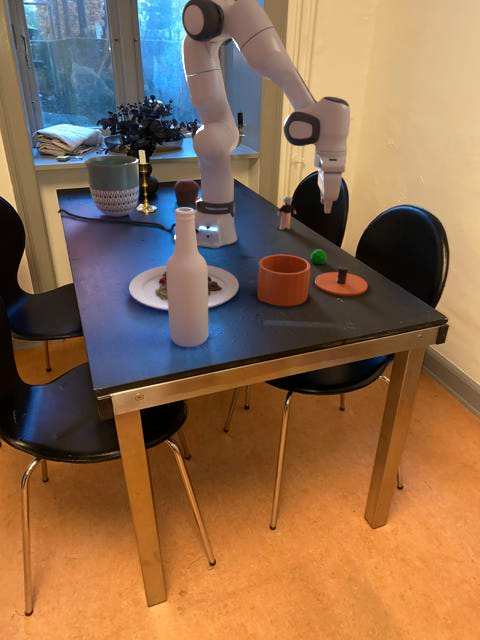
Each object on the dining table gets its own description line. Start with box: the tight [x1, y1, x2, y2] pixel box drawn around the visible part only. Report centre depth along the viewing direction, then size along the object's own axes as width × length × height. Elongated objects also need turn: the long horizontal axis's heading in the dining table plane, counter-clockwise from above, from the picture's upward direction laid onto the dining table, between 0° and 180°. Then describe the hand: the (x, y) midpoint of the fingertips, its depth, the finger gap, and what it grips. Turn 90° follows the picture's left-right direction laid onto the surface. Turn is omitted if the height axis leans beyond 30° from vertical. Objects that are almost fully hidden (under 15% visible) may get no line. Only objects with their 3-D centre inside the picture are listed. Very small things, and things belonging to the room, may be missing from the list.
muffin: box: [172, 178, 201, 206], centre depth 205 cm, size 12×11×10 cm
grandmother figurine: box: [276, 194, 297, 231], centre depth 176 cm, size 8×4×13 cm, turn 117°
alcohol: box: [166, 206, 209, 348], centre depth 100 cm, size 9×9×30 cm
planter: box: [84, 155, 140, 218], centre depth 184 cm, size 20×20×21 cm
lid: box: [314, 265, 369, 297], centre depth 132 cm, size 15×15×6 cm
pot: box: [256, 254, 311, 307], centre depth 125 cm, size 14×14×10 cm
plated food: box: [128, 264, 240, 311], centre depth 128 cm, size 30×30×3 cm
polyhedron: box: [310, 248, 328, 266], centre depth 147 cm, size 5×5×5 cm
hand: (325, 208), depth 139 cm, fingers open, 8 cm apart
